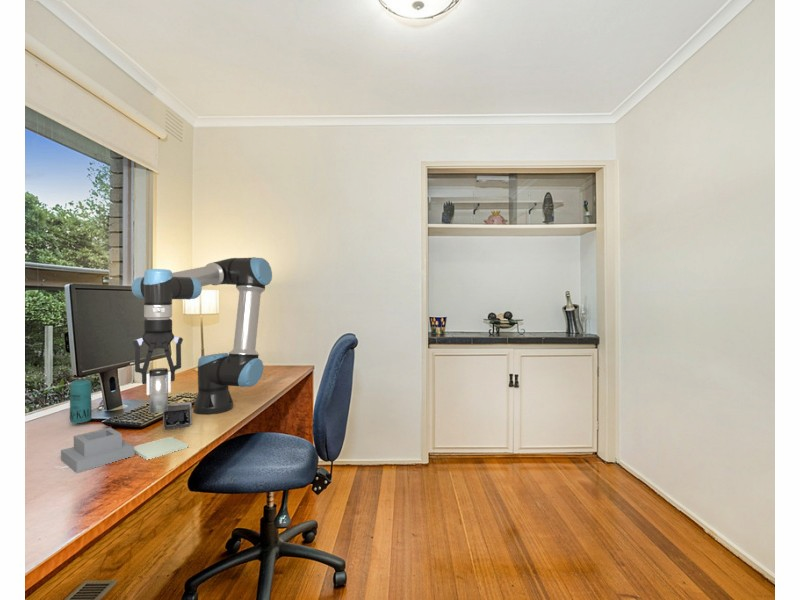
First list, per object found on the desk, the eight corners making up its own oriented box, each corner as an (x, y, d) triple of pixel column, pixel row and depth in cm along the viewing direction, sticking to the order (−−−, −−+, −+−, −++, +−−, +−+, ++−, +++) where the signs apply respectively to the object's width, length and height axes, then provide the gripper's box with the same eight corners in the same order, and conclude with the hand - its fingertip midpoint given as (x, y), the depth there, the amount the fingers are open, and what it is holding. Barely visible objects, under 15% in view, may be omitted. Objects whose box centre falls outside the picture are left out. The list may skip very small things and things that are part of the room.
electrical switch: (192, 424, 151) (191, 400, 150) (191, 429, 146) (190, 405, 145) (163, 427, 147) (162, 402, 146) (161, 433, 143) (160, 408, 142)
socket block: (116, 445, 130) (116, 424, 129) (134, 456, 121) (134, 433, 121) (61, 460, 118) (60, 436, 118) (76, 473, 110) (76, 447, 110)
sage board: (170, 439, 135) (170, 436, 135) (188, 447, 128) (188, 444, 128) (130, 450, 126) (130, 447, 126) (146, 460, 118) (146, 457, 118)
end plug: (163, 407, 130) (163, 367, 130) (170, 410, 127) (170, 369, 127) (146, 411, 126) (146, 369, 126) (153, 414, 123) (153, 371, 123)
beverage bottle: (73, 422, 152) (73, 369, 151) (94, 420, 154) (94, 368, 154) (66, 428, 146) (65, 373, 145) (88, 426, 148) (87, 372, 147)
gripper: (123, 320, 118) (123, 399, 118) (192, 318, 128) (192, 391, 128) (123, 318, 124) (124, 394, 125) (189, 317, 134) (189, 387, 134)
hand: (158, 392), depth 126 cm, fingers closed on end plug, 5 cm apart
